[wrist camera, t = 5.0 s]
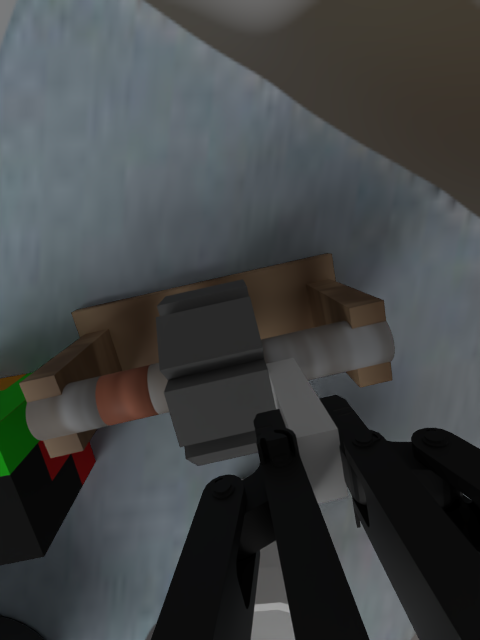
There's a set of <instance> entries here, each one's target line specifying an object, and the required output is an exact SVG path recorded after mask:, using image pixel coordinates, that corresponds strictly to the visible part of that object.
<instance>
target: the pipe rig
mask: <svg viewBox="0 0 480 640" xmlns="http://www.w3.org/2000/svg"><path fill="white" fill-rule="evenodd" d="M242 279H243V280H244V282H245V284H246V286H247V289H248V294H249V296H250V299H251V303H252V307H253V310H254V314H255V318H256V322H257V326H258V330H259V334H260V338H261V342H262V346H263V353H264V360H265V363H266V364H267V363H271V362H276V361H280V360H285V359H289V358H294V359H295V361H296V363H297V364H298V366H299V367H300V369H301V371H302V372H303V374H304V375H305V377H306V379H307V380H312V379H316V378H321V377H325V376H329V375H334V374H338V373H342V372H346V373H347V374H348V375H349V376H350V377H351V378H352V379H353V380H354V382H355V383H356V384H357V385H358V386H359V387H365V386H369V385H374V384H378V383H382V382H387V381H391V380H392V371H391V362H390V361H392V360H393V357H394V353H395V347H394V340H393V336H392V333H391V330H390V327H389V325H388V323H387V322H386V316H385V306H384V300H381V299H379V298H376V297H374V296H371V295H369V294H366V293H364V292H361V291H359V290H356V289H354V288H351V287H349V286H346V285H344V284H341V283H338V282H336V280H335V273H334V266H333V259H332V254H329V253H326V254H322V255H317V256H313V257H308V258H304V259H299V260H295V261H291V262H286V263H282V264H277V265H273V266H268V267H264V268H259V269H255V270H251V271H246V272H242V273H237V274H233V275H228V276H224V277H220V278H215V279H211V280H206V281H202V282H197V283H193V284H189V285H184V286H180V287H175V288H171V289H166V290H162V291H158V292H153V293H149V294H144V295H140V296H135V297H131V298H127V299H122V300H118V301H113V302H109V303H104V304H100V305H96V306H91V307H87V308H82V309H78V310H76V311H74V312H72V313H71V314H72V317H73V319H74V322H75V325H76V328H77V331H78V333H79V336H80V338H79V339H78V340H77V341H75V342H74V343H73V344H71V345H70V346H68V347H67V348H66V349H64V350H63V351H62V352H60V353H59V354H58V355H56V356H55V357H54V358H52V359H51V360H50V361H48V362H47V363H46V364H44V365H43V366H42V367H40V368H39V369H37V370H36V371H35V372H33V373H32V374H31V375H29V376H28V377H27V378H25V379H24V380H23V381H21V382H20V383H19V385H20V387H21V389H22V392H23V394H24V396H25V399H26V401H27V405H26V422H27V425H28V428H29V430H30V432H31V434H32V435H33V436H34V437H35V438H36V439H38V440H41V441H44V444H45V446H46V448H47V451H48V453H49V455H50V458H54V457H58V456H63V455H67V454H71V453H76V452H80V451H84V449H85V447H86V446H87V444H88V443H89V441H90V439H91V438H92V436H93V435H94V433H95V432H96V430H97V428H101V427H106V426H110V425H114V424H119V423H123V422H128V421H132V420H136V419H141V418H145V417H150V416H154V415H158V414H163V413H167V412H169V409H168V405H167V402H166V399H165V395H164V390H165V388H166V385H167V382H168V380H167V379H166V377H165V376H164V375H163V374H162V373H161V371H160V369H159V356H158V343H157V329H156V317H159V316H160V315H159V312H158V308H157V305H158V304H159V303H160V302H161V301H162V300H163V299H164V297H165V296H170V295H174V294H179V293H183V292H188V291H192V290H197V289H201V288H206V287H210V286H215V285H219V284H224V283H228V282H233V281H237V280H242Z"/></svg>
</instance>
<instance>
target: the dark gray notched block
mask: <svg viewBox="0 0 480 640" xmlns="http://www.w3.org/2000/svg"><path fill="white" fill-rule="evenodd" d="M157 308H158V312H159V315H160V316H159V317H156V329H157V343H158V356H159V369H160V371H161V373H162V374H163V375H164V376H165V377H166V379H167V380H168V382H167V385H166V388H165V390H164V395H165V399H166V402H167V405H168V409H169V412H170V415H171V419H172V422H173V426H174V429H175V432H176V436H177V439H178V442H179V446H180V447H183V446H184V447H185V456H186V459H187V460H189V461H191V462H192V463H194V464H196V465H197V466H200V465H205V464H209V463H214V462H218V461H222V460H227V459H231V458H236V457H240V456H245V455H249V454H253V453H258V449H257V445H256V442H257V438H256V432H255V427H254V422H253V421H254V419H255V417H256V414H258V413H262V412H267V411H271V410H275V409H276V406H275V401H274V397H273V392H272V387H271V382H270V377H269V372H268V368H267V365H266V363H265V360H264V353H263V346H262V342H261V338H260V334H259V330H258V326H257V322H256V318H255V314H254V310H253V307H252V303H251V299H250V296H249V294H248V289H247V286H246V284H245V282H244V280H243V279H242V280H237V281H233V282H228V283H224V284H219V285H215V286H210V287H206V288H201V289H197V290H192V291H188V292H183V293H179V294H174V295H170V296H165V297H164V299H163V300H162V301H161V302H160V303H159V304H158V305H157Z"/></svg>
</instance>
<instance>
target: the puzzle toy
mask: <svg viewBox="0 0 480 640" xmlns="http://www.w3.org/2000/svg"><path fill="white" fill-rule="evenodd" d="M31 374H32V373H28V374H22V375H17V376H11V377H6V378H1V379H0V565H4V564H9V563H14V562H19V561H24V560H30V559H35V558H40V557H44V556H45V554H46V552H47V550H48V548H49V546H50V545H51V543H52V541H53V539H54V537H55V535H56V534H57V532H58V530H59V528H60V526H61V524H62V523H63V521H64V519H65V517H66V515H67V513H68V512H69V510H70V508H71V506H72V504H73V502H74V501H75V499H76V497H77V495H78V493H79V491H80V490H81V488H82V486H83V484H84V482H85V480H86V478H87V477H88V475H89V473H90V471H91V469H92V467H93V466H94V464H95V462H96V461H95V458H94V455H93V451H92V448H91V445H90V442H89V443H88V444H87V446H86V447H85V449H84V451H80V452H76V453H71V454H67V455H63V456H58V457H54V458H50V455H49V453H48V451H47V448H46V446H45V444H44V441H41V440H38V439H36V438H35V437H34V436H33V435H32V434H31V432H30V430H29V428H28V425H27V422H26V405H27V401H26V399H25V396H24V394H23V392H22V389H21V387H20V385H19V383H20V382H21V381H23V380H24V379H25V378H27V377H28V376H29V375H31Z"/></svg>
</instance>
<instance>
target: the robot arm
mask: <svg viewBox="0 0 480 640" xmlns="http://www.w3.org/2000/svg"><path fill="white" fill-rule="evenodd" d="M266 365H267V368H268V372H269V377H270V382H271V387H272V392H273V397H274V401H275V406H276V409H275V410H271V411H267V412H262V413H258V414H256V417H255V419H254V421H253V422H254V427H255V432H256V438H257V442H256V445H257V449H258V453H259V458H260V465H259V467H258V469H257V470H256V471H255V472H254V473H253V474H252V475H251V476H249V477H247V478H245V479H243V480H241V479H240V478H239V477H237V476H235V475H223V476H219V477H217V478H215V479H213V480H212V481H211V482H209V483H208V484H207V485H206V487H205V489H204V490H203V493H202V496H201V499H200V502H199V504H198V507H197V510H196V513H195V516H194V519H193V521H192V524H191V527H190V530H189V533H188V536H187V539H186V541H185V544H184V547H183V550H182V553H181V556H180V558H179V561H178V564H177V567H176V570H175V573H174V576H173V578H172V581H171V584H170V587H169V590H168V593H167V595H166V598H165V601H164V604H163V607H162V610H161V613H160V615H159V618H158V621H157V624H156V627H155V630H154V632H153V635H152V638H151V640H251V632H252V624H253V615H254V606H255V597H256V589H257V580H258V571H259V563H260V550H261V549H262V548H264V547H266V546H267V545H269V544H271V543H272V542H274V541H276V544H277V549H278V554H279V559H280V564H281V569H282V574H283V580H284V585H285V590H286V595H287V600H288V605H289V610H290V616H291V621H292V626H293V631H294V636H295V640H369V637H368V635H367V632H366V629H365V627H364V624H363V621H362V619H361V616H360V613H359V611H358V608H357V606H356V603H355V600H354V598H353V595H352V592H351V590H350V587H349V584H348V582H347V579H346V576H345V574H344V571H343V569H342V566H341V563H340V561H339V558H338V555H337V553H336V550H335V547H334V545H333V542H332V539H331V537H330V534H329V532H328V529H327V526H326V524H325V521H324V518H323V516H322V513H321V510H320V508H319V505H318V504H321V503H325V502H329V501H334V500H338V499H342V498H347V497H348V491H347V487H348V488H349V490H350V492H351V494H352V499H353V506H354V512H355V519H356V524H357V528H358V527H361V526H360V521H361V523H362V525H363V527H364V529H365V531H366V533H367V535H368V537H369V539H370V541H371V543H372V545H373V547H374V549H375V551H376V553H377V556H378V558H379V560H380V562H381V564H382V566H383V568H384V570H385V572H386V574H387V576H388V578H389V580H390V582H391V584H392V586H393V588H394V590H395V592H396V594H397V596H398V598H399V600H400V602H401V604H402V606H403V608H404V610H405V612H406V614H407V616H408V618H409V620H410V622H411V624H412V626H413V628H414V630H415V632H416V634H417V636H418V638H419V640H480V449H479V448H477V447H475V446H474V445H472V444H470V443H468V442H467V441H465V440H463V439H461V438H460V437H458V436H456V435H454V434H452V433H450V432H448V431H446V430H443V429H438V428H424V429H420V430H417V431H416V432H414V433H413V435H412V437H411V441H412V442H390V441H386V439H385V438H384V437H383V436H382V435H380V434H379V433H378V432H375V431H372V430H369V429H368V428H367V427H366V425H365V424H364V423H363V422H362V420H361V419H360V418H359V416H358V415H357V414H356V413H355V412H354V410H353V409H352V408H351V407H350V405H349V404H348V402H347V401H346V400H345V399H343V398H341V397H339V396H337V395H333V396H329V397H324V398H320V399H319V398H318V396H317V395H316V393H315V391H314V390H313V388H312V387H311V385H310V383H309V382H308V380H307V379H306V377H305V375H304V374H303V372H302V371H301V369H300V367H299V366H298V364H297V363H296V361H295V359H294V358H289V359H285V360H280V361H276V362H271V363H267V364H266ZM463 494H464V495H463ZM465 495H466V496H467V497H468V498H467V497H466V496H465ZM469 498H470V499H469ZM0 640H44V639H43V638H42V637H41V636H40V635H38V634H37V633H36V632H35V631H33V630H32V629H30V628H29V627H27V626H25V625H23V624H21V623H19V622H17V621H14V620H11V619H8V618H5V617H1V616H0Z"/></svg>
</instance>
